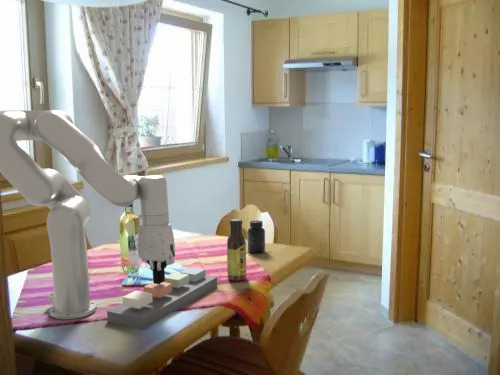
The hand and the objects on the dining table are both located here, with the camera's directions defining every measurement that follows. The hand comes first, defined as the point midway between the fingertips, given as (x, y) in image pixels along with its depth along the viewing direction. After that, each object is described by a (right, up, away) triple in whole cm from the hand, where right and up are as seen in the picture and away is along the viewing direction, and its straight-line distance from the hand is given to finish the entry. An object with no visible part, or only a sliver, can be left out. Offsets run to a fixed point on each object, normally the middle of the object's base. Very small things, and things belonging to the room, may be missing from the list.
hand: (159, 282), depth 155 cm
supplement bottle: (+28, +2, +58) cm, 64 cm away
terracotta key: (0, -3, 0) cm, 3 cm away
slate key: (+8, -1, +16) cm, 18 cm away
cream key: (-5, -4, -7) cm, 10 cm away
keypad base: (+2, -7, +5) cm, 8 cm away
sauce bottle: (+22, -3, +25) cm, 34 cm away
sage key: (+4, -2, +8) cm, 9 cm away
